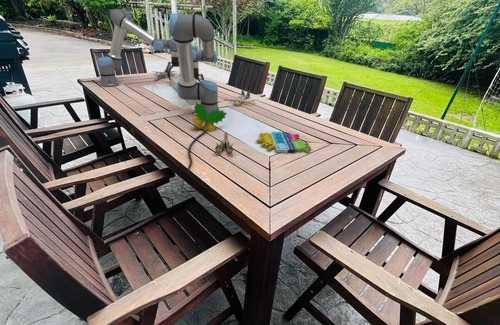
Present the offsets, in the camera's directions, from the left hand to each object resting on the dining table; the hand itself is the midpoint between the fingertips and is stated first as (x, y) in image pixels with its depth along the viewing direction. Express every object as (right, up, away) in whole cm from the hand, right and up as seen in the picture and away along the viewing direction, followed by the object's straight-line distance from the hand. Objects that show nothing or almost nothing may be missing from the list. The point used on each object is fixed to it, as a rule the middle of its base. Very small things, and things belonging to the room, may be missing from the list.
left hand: (176, 79), depth 253 cm
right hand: (+27, -27, -44) cm, 58 cm away
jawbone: (+58, -75, -114) cm, 148 cm away
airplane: (-21, +12, +31) cm, 39 cm away
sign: (+90, -69, -100) cm, 151 cm away
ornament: (+46, -59, -88) cm, 115 cm away
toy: (+64, -29, -32) cm, 77 cm away
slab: (+13, -18, -19) cm, 29 cm away
